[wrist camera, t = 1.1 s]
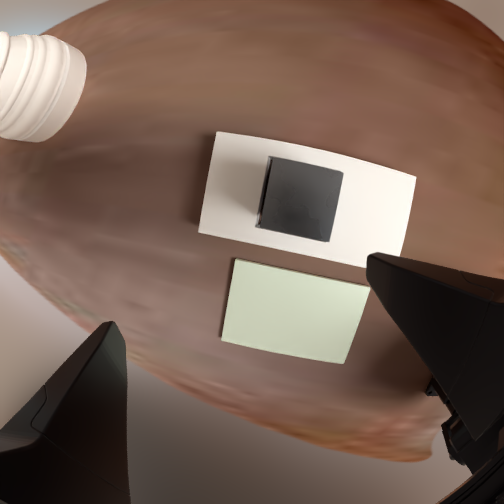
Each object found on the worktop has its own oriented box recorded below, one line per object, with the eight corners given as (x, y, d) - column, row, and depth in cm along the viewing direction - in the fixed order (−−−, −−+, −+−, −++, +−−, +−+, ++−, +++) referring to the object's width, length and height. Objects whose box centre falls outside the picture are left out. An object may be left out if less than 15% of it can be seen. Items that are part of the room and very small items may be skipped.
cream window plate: (404, 178, 22) (416, 177, 19) (384, 266, 23) (394, 274, 21) (223, 137, 23) (216, 131, 20) (207, 228, 25) (198, 232, 22)
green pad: (368, 285, 24) (370, 287, 23) (342, 361, 26) (343, 364, 25) (236, 258, 25) (235, 259, 24) (222, 337, 26) (221, 340, 26)
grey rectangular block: (324, 180, 23) (343, 172, 15) (315, 227, 23) (329, 242, 16) (277, 170, 23) (273, 157, 15) (268, 217, 24) (259, 227, 16)
